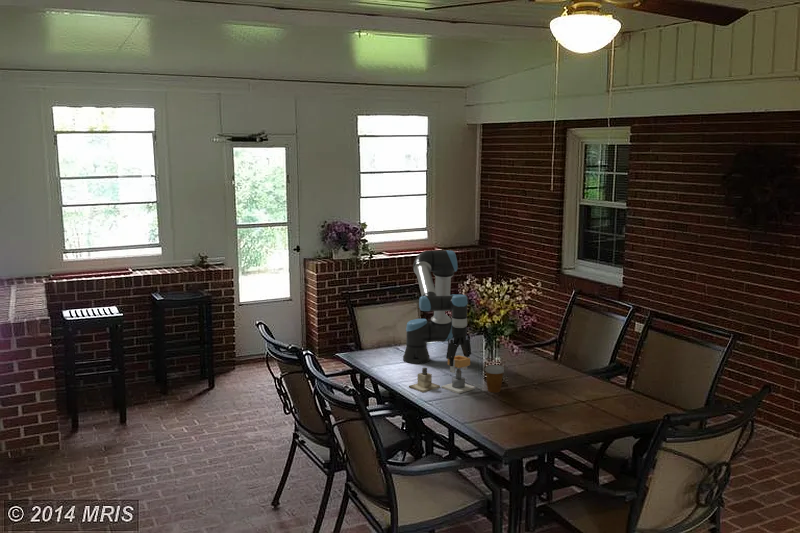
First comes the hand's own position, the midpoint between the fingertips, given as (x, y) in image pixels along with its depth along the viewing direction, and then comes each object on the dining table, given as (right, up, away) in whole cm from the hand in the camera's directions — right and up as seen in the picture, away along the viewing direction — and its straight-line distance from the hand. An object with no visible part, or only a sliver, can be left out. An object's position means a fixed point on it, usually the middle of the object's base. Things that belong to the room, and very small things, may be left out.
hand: (458, 370), depth 367 cm
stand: (-17, -9, +3) cm, 19 cm away
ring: (0, +3, 0) cm, 3 cm away
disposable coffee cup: (+17, -10, -2) cm, 20 cm away
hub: (0, -9, +1) cm, 9 cm away
